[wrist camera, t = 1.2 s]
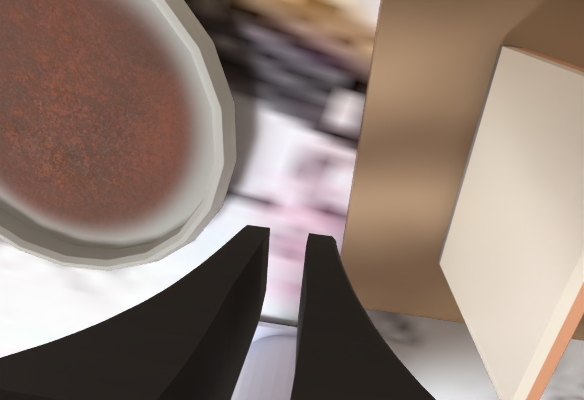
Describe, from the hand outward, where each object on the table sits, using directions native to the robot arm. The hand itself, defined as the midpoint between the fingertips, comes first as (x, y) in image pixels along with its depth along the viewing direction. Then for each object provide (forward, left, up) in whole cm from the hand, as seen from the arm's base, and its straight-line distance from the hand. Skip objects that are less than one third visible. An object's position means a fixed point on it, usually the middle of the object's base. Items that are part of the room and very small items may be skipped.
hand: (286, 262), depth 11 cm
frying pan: (+2, +17, -11) cm, 20 cm away
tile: (0, -7, -5) cm, 8 cm away
